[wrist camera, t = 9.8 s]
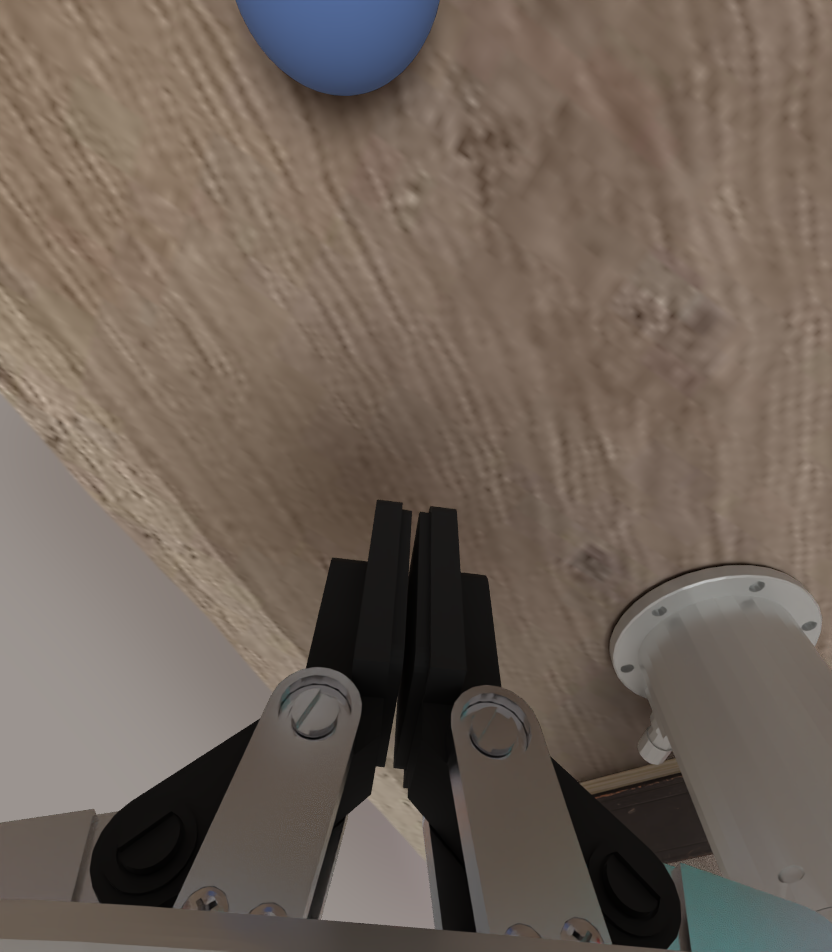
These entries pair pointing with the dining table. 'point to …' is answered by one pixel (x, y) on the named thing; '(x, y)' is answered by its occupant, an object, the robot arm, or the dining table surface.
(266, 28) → the ball
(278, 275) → the dining table surface
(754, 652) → the robot arm
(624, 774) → the hardcover book
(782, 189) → the dining table surface
